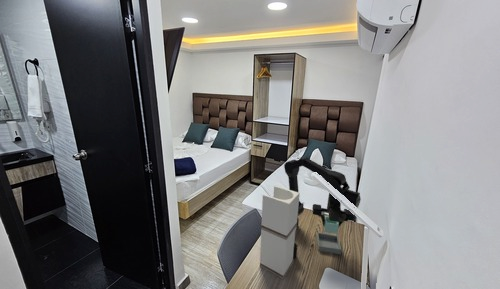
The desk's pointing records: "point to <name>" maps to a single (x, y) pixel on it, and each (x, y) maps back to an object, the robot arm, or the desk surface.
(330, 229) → the teal crate
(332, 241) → the grey square tray
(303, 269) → the desk surface
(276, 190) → the white pencil holder
